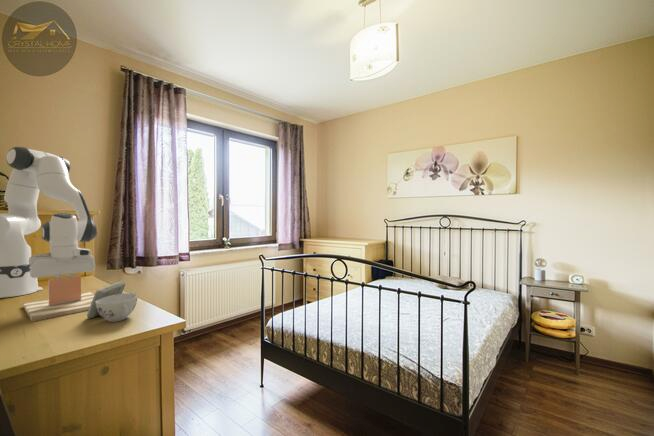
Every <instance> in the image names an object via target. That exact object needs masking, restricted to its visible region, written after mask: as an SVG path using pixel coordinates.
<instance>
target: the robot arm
mask: <svg viewBox="0 0 654 436" xmlns="http://www.w3.org/2000/svg"><path fill="white" fill-rule="evenodd" d="M6 163H7V165H8V166H9V167H11V168H12V169H13V170H12V171H11V173H10V175H9V178H8V179H7V185H6V189H5V192H4V195H3V199H4V202H6V204H7V208H8V209H7V210H8V212H5V213H3V212H2V213H1V212H0V299H2V298H3V299H4V298H11V297H18V296H19V297H20V296H24V295H28V294H32V293H36V292H40V291H43V290H44V289H43V287H41V286H39V283H38V278H46V277H55V279H56V278H62V276H64V275H67V277H72V276H74V274H79V273H86V272H88V273H89V272H94V270H96V261H95V257H94V256H93V255H92V254H93V251H92V250H91V249H90V248H84V247H79V242H80V243H90V242H91V241H92V240H94V239H95V238H96V237H97V234H98V228H97V225H96V223H95V221H94V219H93V217H92V215H91V213H90V212H91V211H90V209H89V208H88V205H87V203H86V199H85V198H84V195H83V193H82V191H81V190H80V189H78V188H76V187H75V186H74V185H73V184H72V182H71V180H70V174H69V173H70V171H71V164H70V163H71V162H70V161H69V160H68V159H67V158H65V157H63V156H61V155H55V154H53V153H50V152H46V151H41V150H37V149H31V148H27V147H24V146H13V147H11V148H10V149H9V150H8V152H7V154H6ZM40 192H41V193H42V194H44V196H47V197H49V198H51V199H55V200H59V201H62V202H65V203H68V204H70V205H71V206H73V208H74V210H75V213H76V215H75V214H72V213H65V212H63V213H62V212H61V213H55V214H52V215H51V218H50V221H47V222H44V224H42V221H41V220H40V218H39V216H38V206H37V205H38V199H39V195H40ZM77 218H78V219H77ZM40 228H41V239H42V240H43V241H45V242H47V243H50V244H49V253H41V254H39V253H38V254H37V253H36V254H34V255H32V248H31V246H30V244H28V243H27V240H26V239H25V236H27V235H30V234H34V233H35V232H37V231H38V230H39V229H40Z"/></svg>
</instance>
